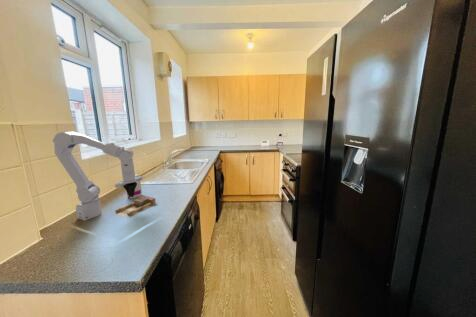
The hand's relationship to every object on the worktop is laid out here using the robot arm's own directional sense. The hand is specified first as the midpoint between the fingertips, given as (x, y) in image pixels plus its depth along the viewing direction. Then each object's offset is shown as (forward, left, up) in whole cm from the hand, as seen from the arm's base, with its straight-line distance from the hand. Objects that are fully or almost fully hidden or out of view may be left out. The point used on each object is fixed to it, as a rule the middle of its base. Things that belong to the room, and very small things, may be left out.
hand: (131, 196), depth 104 cm
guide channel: (+2, 0, -8) cm, 9 cm away
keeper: (+6, 0, -7) cm, 9 cm away
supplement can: (+14, +16, -9) cm, 23 cm away
